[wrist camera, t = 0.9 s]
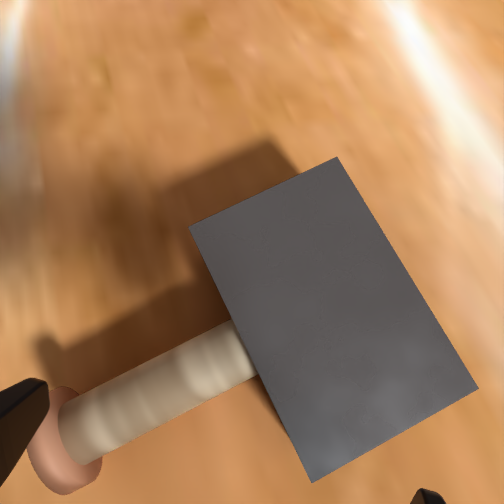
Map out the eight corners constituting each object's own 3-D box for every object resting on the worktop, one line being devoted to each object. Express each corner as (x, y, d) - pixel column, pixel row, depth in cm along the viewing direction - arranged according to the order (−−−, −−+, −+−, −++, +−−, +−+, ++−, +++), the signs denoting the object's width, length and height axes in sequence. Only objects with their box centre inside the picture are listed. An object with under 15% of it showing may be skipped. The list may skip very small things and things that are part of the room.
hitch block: (297, 449, 20) (311, 483, 15) (202, 253, 23) (187, 226, 18) (425, 378, 21) (478, 388, 16) (319, 197, 24) (337, 156, 19)
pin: (94, 475, 20) (47, 512, 15) (63, 391, 21) (11, 403, 16) (314, 358, 21) (330, 361, 17) (275, 284, 22) (281, 269, 18)
